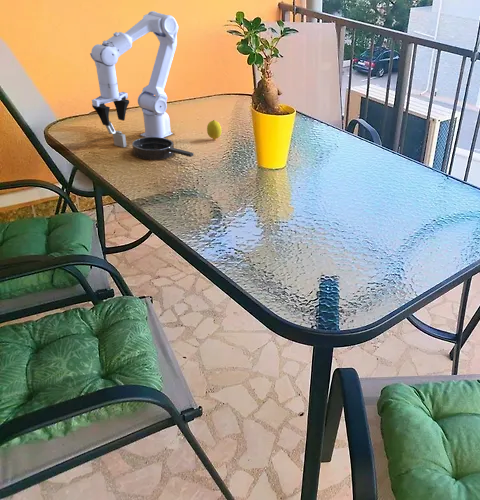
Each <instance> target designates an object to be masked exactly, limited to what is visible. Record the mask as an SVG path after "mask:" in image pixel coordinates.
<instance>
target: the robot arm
mask: <svg viewBox="0 0 480 500" xmlns="http://www.w3.org/2000/svg"><path fill="white" fill-rule="evenodd" d="M179 28H180V27H179V25H178V22H177V20H176V19H175V17H174V16H173V15H171V14H165V13H161V12H157V11H155V10H152V11H149V12H148V13H146V14H144V15H143V17H142V19H140V20H139V21H138V22H136V23H135V24H134V25H133V26H132V27H130V28H129V29H128V30H127V31H125V32H122V31H118V32H117V31H115V32H114V33H112V35H113V36H111V37H110V38H108V39H107V40H103V41H102V43H100V44H99V43H98V44H97V43H96V44H95V45H93V46H92V48H91V52H90V53H89V55H90V58H91V59H92V61H94V63H95V64H94V66H95V67H96V74H97V82H98V87H99V92H100V95H99V96H97V97H96V98H93V99H91V105H92V109H94V111H95V112H96V113H97V115H98V117H99V119H100V121H101V124H102V125H103V126H105V125H106V126H109V121H110V117H109V116H110V109H111V107H110V106H107V105H106V104H110V103H113V104H114V107H115V110H116V115H117V119H118V120H120V121H125V119H126V114H127V109H128V106H129V105H130V100H129V99H128V98H129V96H128V92H125V91H120V92H119V85H118V78H117V70H116V64H117V63H118V61H119V58H120V57H121V56H122V55H124V54H125V53H127V52H128V51H129V50H131V49H132V47H133V43H134V42H135V41H137V40H138V39H140V38H142V37H143V36H146V35H148V34H149V33H153V34H154V35H155V37H156V38H157V40H158V42H159V45H158V50H157V53H156V57H155V60H154V65H153V67H152V70H151V74H150V78H149V82H148V84H147V85H146V86H144V87H143V88H142V91H141V92H140V93H139V95H138V97H137V105H138V107H140V109H141V111H142V117H143V124H144V125H143V127H144V132H143V133H140V137H142V138H145V137H160V138H166V137H169V136H171V135H173V132H172V131H171V119H170V115H169V114H168V113H167V109H168V104H167V102H168V95H167V93H166V92H165V88H166V85H167V82H168V78H169V75H170V71H171V67H172V64H173V60H174V56H175V53H176V50H177V45H178V37H177V35H178V31H179ZM106 126H105V127H106Z"/></svg>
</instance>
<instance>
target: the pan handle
mask: <svg viewBox="0 0 480 500" xmlns="http://www.w3.org/2000/svg"><path fill="white" fill-rule="evenodd" d="M169 152H173V153H174V154H178V155H181V156H186V157H188V158H191V157H193V156H194V155H195V154H194V152H192V151H189V150H188V151H187V150H184V149H180V148H175V147H174V148H172V147H171V148H169Z"/></svg>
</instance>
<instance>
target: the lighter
mask: <svg viewBox="0 0 480 500" xmlns="http://www.w3.org/2000/svg"><path fill="white" fill-rule="evenodd" d="M104 126H105V128H106V130H107V131H108V133H109V135H112V138H113V144H114V146H117V147H121V148H126V147H127V146H128V145H127V139H126V134H125V133H123V132H122V131H121V130H115V128H114V125H113V124H112V122H111V120H109V126H106V125H104Z"/></svg>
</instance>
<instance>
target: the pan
mask: <svg viewBox="0 0 480 500" xmlns="http://www.w3.org/2000/svg"><path fill="white" fill-rule="evenodd" d="M131 146H132V154H133V155H134V156H135V157H137V158H139V159H142V160H149V161H151V160H152V161H157V160H165V159H169V158H170V157H173V155H175V153H173V152H169V148H171V147H172V148H175V145H174V141H173V140H171V139H170V138H166V137H164V138H160V137H140V138H137V139H134V140H133V141H132V142H131Z"/></svg>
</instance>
